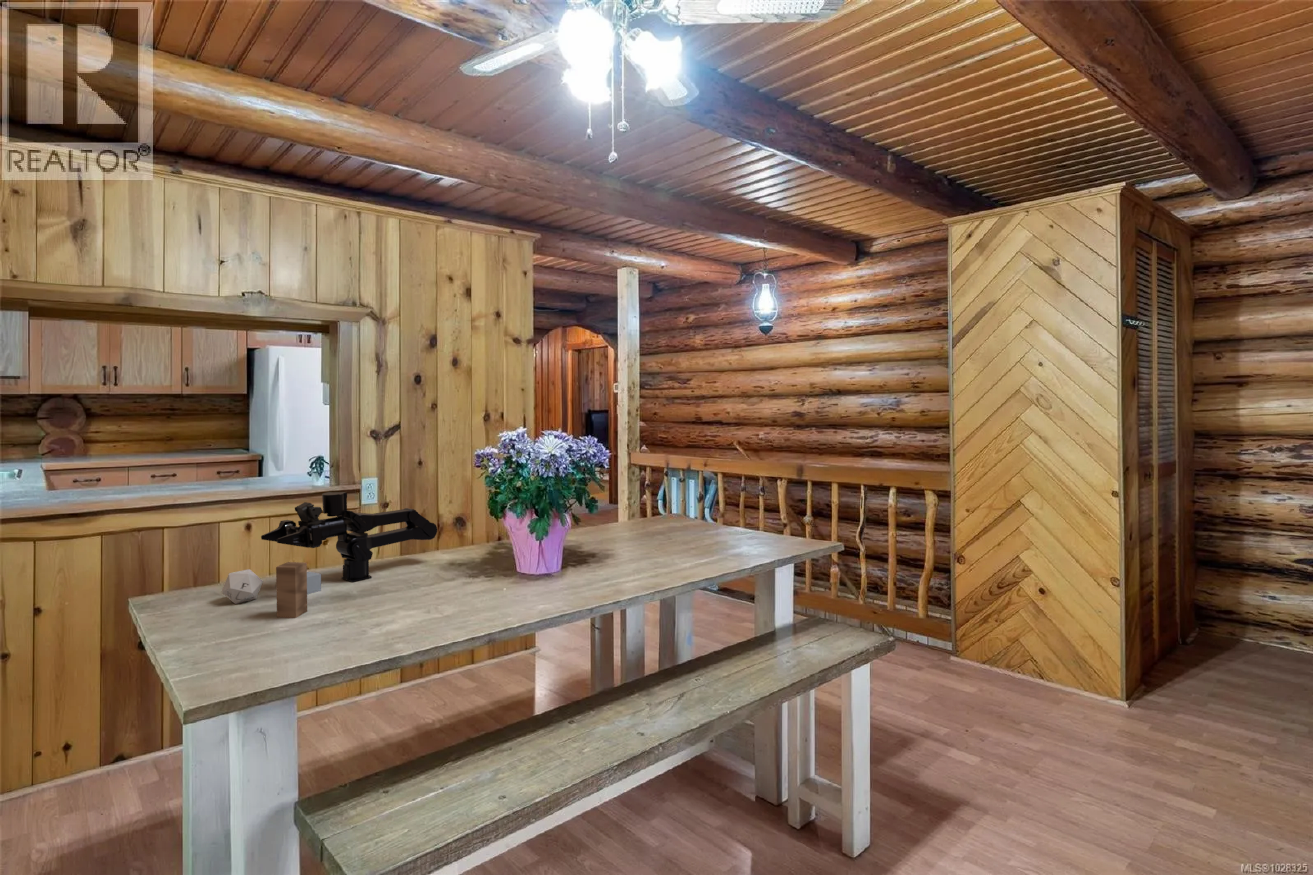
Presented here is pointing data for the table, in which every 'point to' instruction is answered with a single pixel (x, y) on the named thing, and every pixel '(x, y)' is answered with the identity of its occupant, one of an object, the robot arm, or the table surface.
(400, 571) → the table surface
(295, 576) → the walnut block
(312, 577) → the slate cube
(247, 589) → the die
